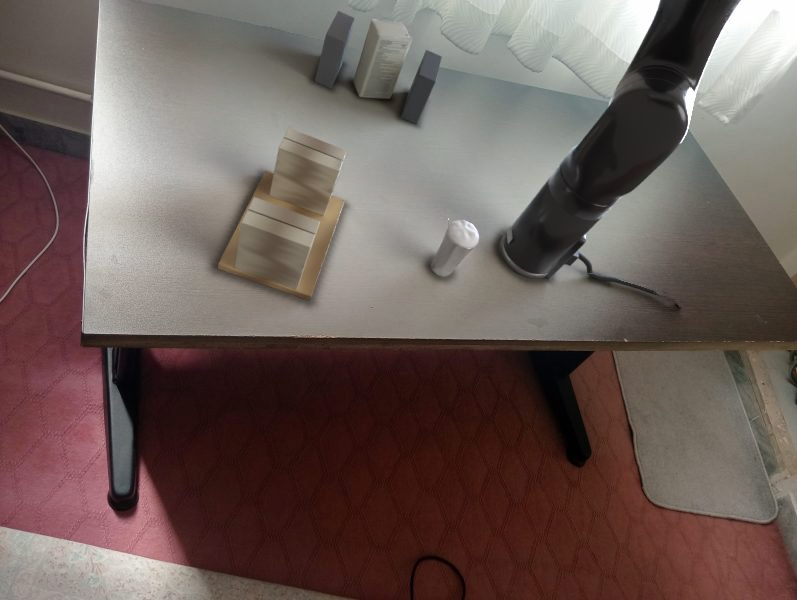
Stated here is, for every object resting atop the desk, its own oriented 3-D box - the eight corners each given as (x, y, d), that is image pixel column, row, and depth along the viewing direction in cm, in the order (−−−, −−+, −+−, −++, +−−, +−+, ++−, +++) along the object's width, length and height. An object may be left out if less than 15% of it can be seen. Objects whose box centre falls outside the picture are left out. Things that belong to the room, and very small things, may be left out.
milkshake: (421, 251, 80) (448, 206, 72) (454, 259, 81) (484, 216, 73) (421, 275, 77) (448, 232, 69) (455, 283, 79) (486, 242, 71)
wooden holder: (343, 205, 80) (361, 155, 72) (309, 300, 69) (326, 254, 61) (264, 175, 78) (274, 120, 70) (217, 268, 67) (222, 217, 59)
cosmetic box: (383, 83, 99) (405, 22, 89) (390, 100, 97) (414, 39, 87) (351, 81, 96) (370, 17, 86) (358, 98, 94) (378, 34, 85)
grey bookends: (423, 98, 100) (442, 56, 93) (416, 124, 96) (435, 81, 89) (326, 57, 97) (338, 10, 90) (314, 81, 93) (325, 34, 85)
